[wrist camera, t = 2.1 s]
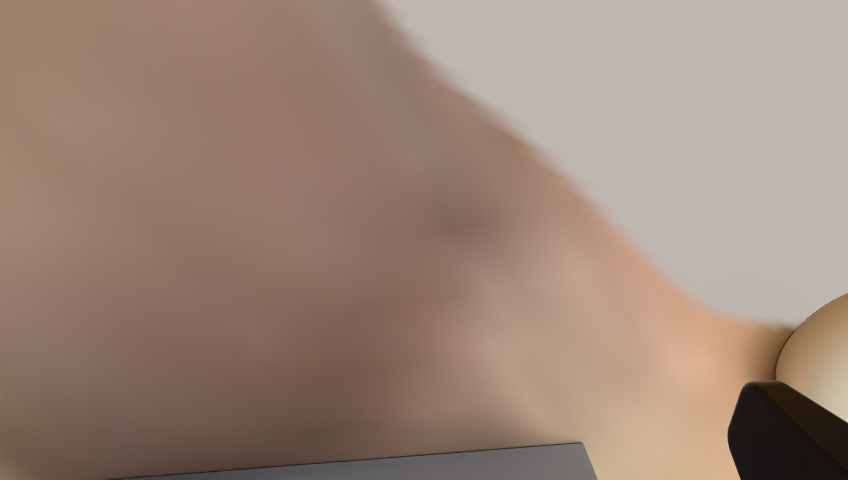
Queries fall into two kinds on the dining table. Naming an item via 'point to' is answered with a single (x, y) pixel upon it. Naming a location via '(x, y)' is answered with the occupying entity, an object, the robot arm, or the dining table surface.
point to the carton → (430, 467)
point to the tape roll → (820, 358)
